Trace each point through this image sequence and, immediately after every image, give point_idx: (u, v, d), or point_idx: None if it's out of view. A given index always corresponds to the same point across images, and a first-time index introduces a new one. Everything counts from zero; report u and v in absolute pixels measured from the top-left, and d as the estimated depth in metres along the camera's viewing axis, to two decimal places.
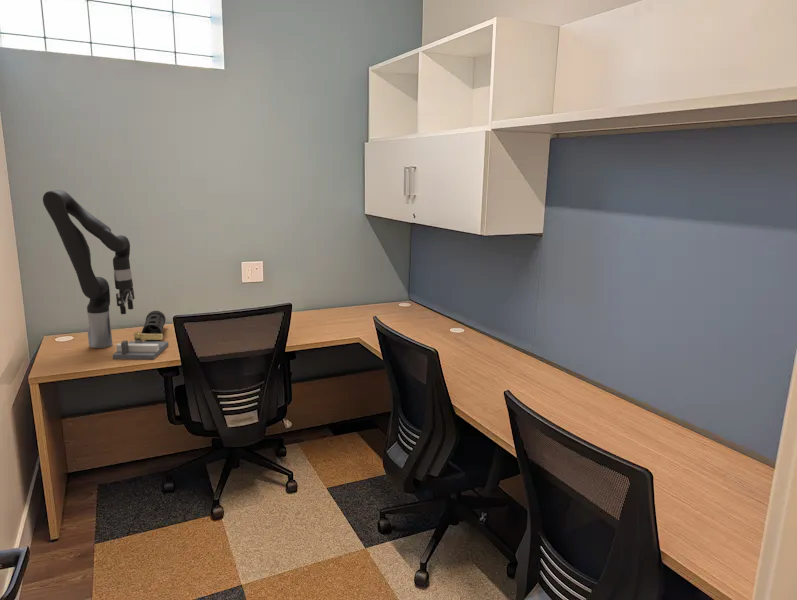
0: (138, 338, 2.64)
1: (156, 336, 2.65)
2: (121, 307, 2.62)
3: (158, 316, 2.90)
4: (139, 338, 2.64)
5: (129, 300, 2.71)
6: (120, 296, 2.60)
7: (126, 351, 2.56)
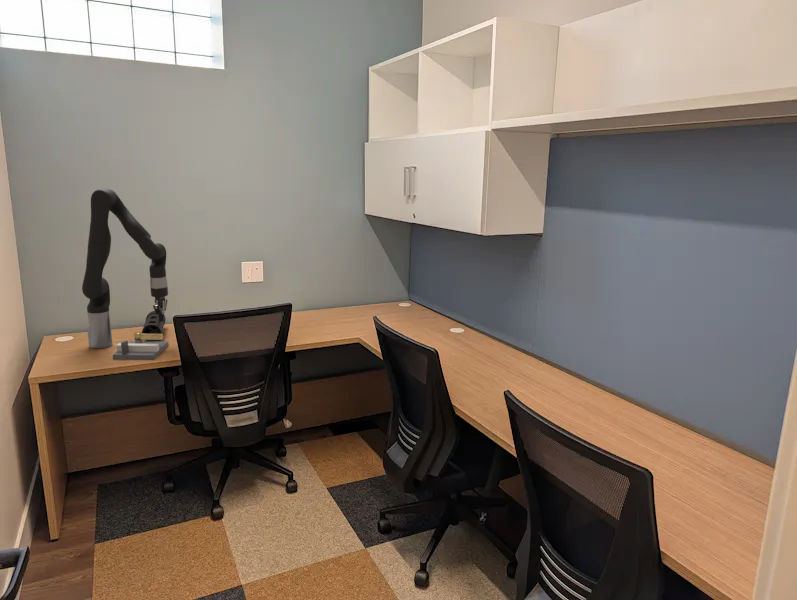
0: (138, 338, 2.64)
1: (156, 336, 2.65)
2: (160, 315, 2.68)
3: (158, 316, 2.90)
4: (139, 338, 2.64)
5: None
6: (158, 308, 2.63)
7: (126, 351, 2.56)
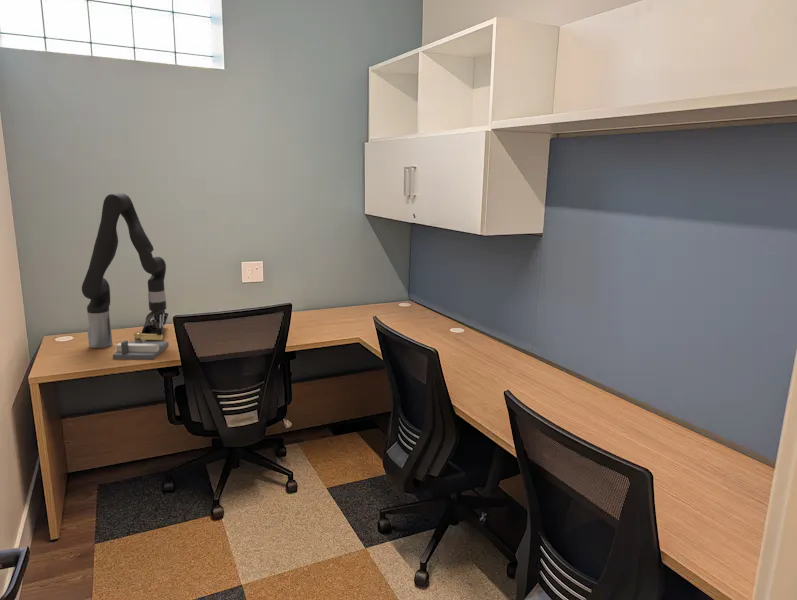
0: (138, 338, 2.64)
1: (156, 336, 2.64)
2: (157, 328, 2.66)
3: None
4: (139, 338, 2.64)
5: (159, 325, 2.67)
6: (153, 322, 2.61)
7: (126, 351, 2.56)
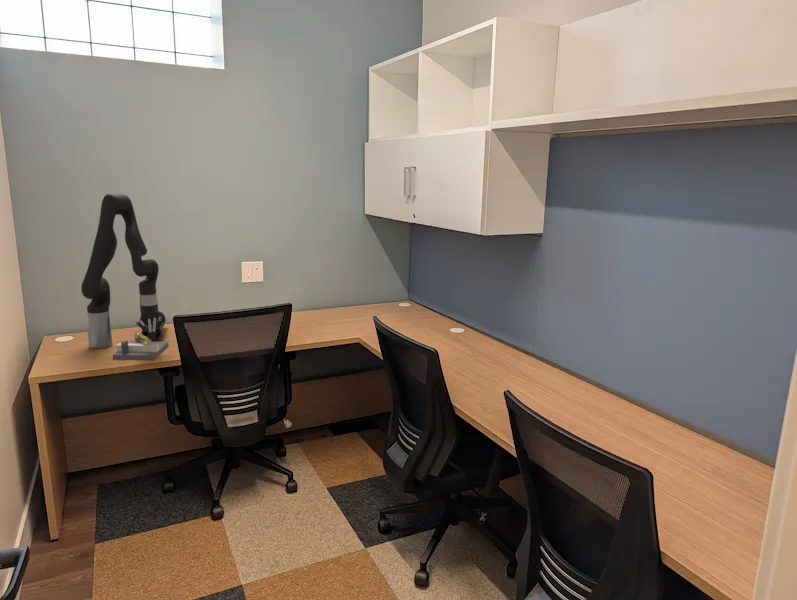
0: (135, 338, 2.64)
1: (144, 340, 2.59)
2: (148, 332, 2.59)
3: None
4: (136, 338, 2.64)
5: (151, 329, 2.60)
6: (138, 325, 2.55)
7: (126, 351, 2.56)
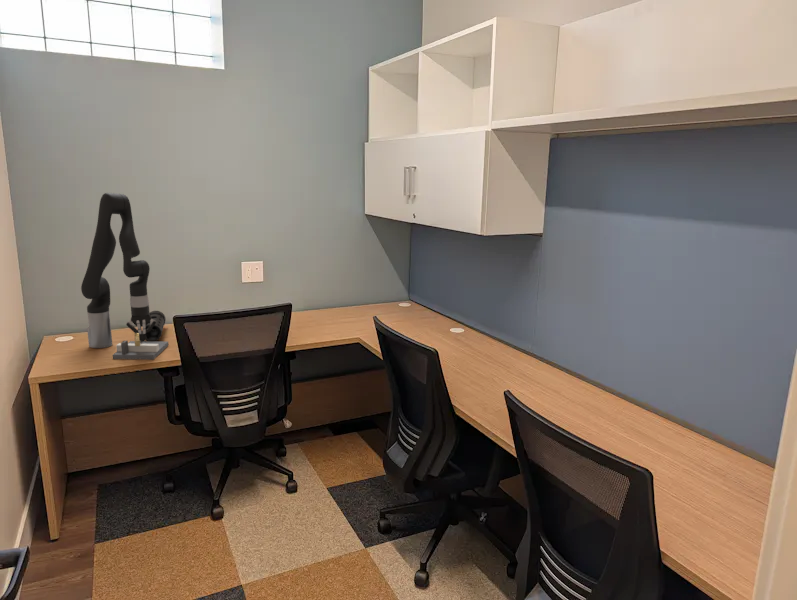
0: None
1: (135, 341, 2.57)
2: (139, 334, 2.57)
3: (158, 316, 2.90)
4: None
5: (143, 331, 2.57)
6: None
7: (126, 351, 2.56)
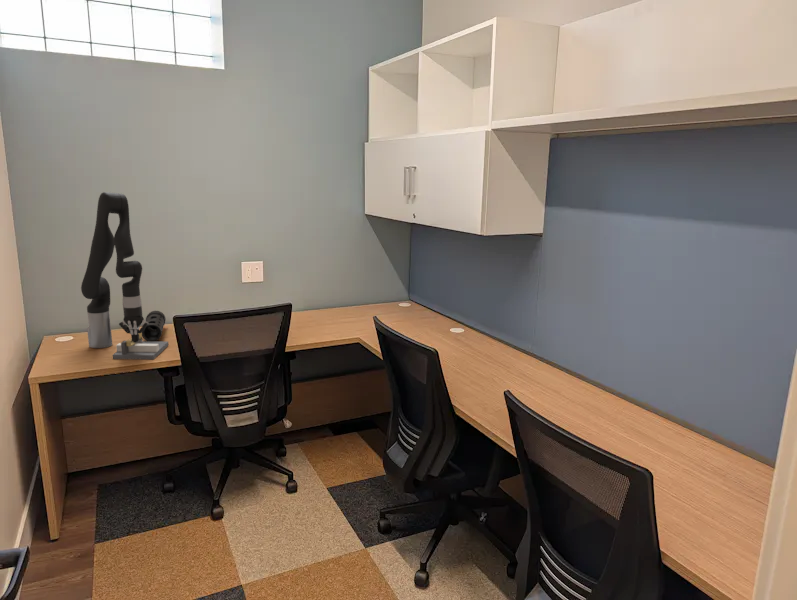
0: None
1: None
2: None
3: (158, 316, 2.90)
4: None
5: None
6: None
7: (126, 351, 2.56)
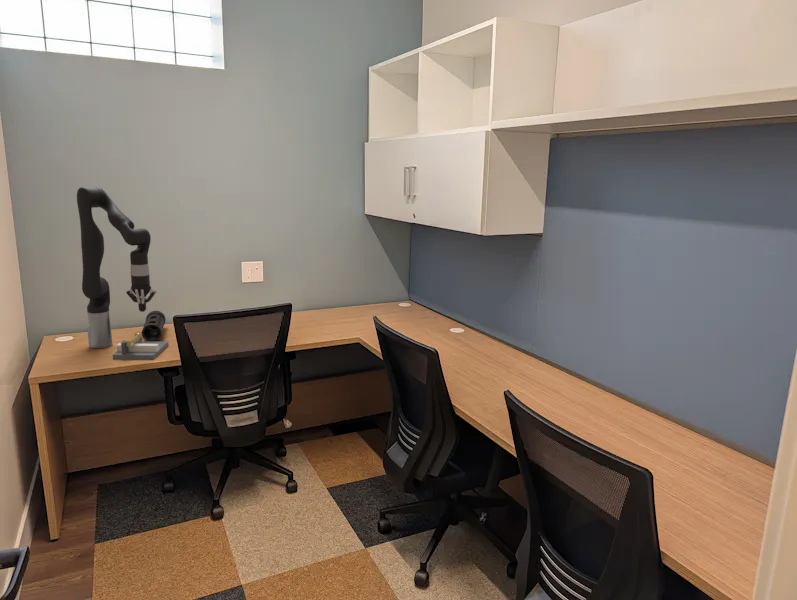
0: None
1: None
2: None
3: (158, 316, 2.90)
4: None
5: None
6: None
7: (126, 351, 2.56)
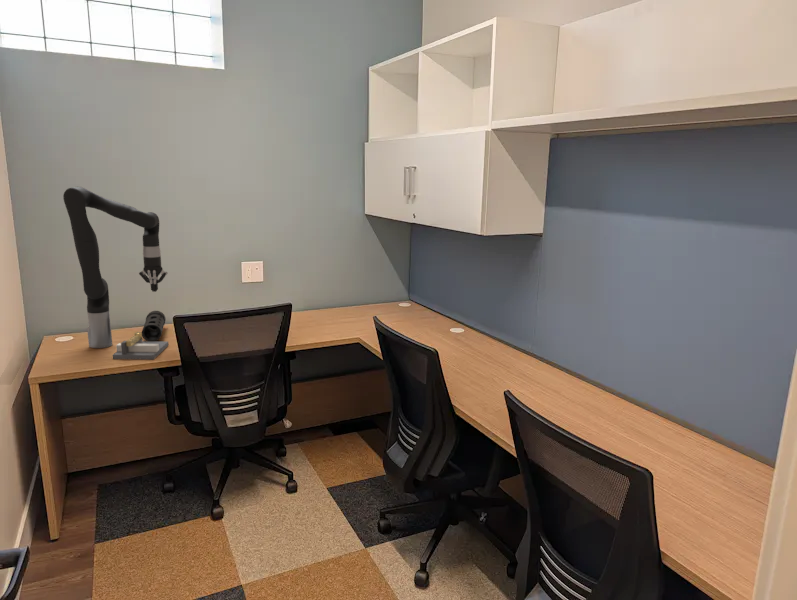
0: None
1: None
2: None
3: (158, 316, 2.90)
4: None
5: None
6: None
7: (126, 351, 2.56)
